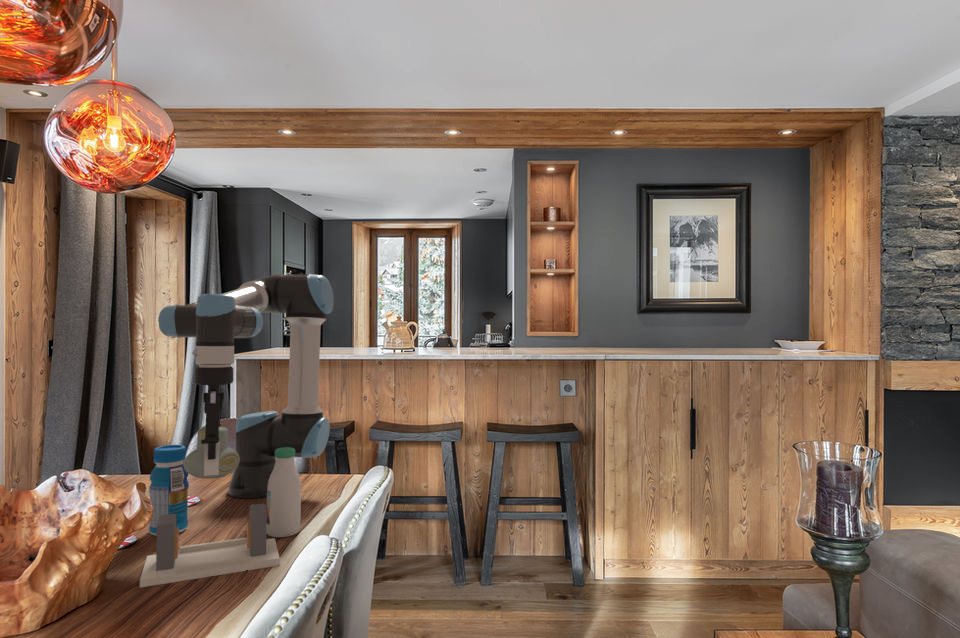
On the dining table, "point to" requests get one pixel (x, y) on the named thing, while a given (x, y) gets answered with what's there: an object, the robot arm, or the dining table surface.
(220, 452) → the air freshener
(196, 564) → the rail
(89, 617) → the dining table surface
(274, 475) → the milk bottle
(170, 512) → the beverage bottle
